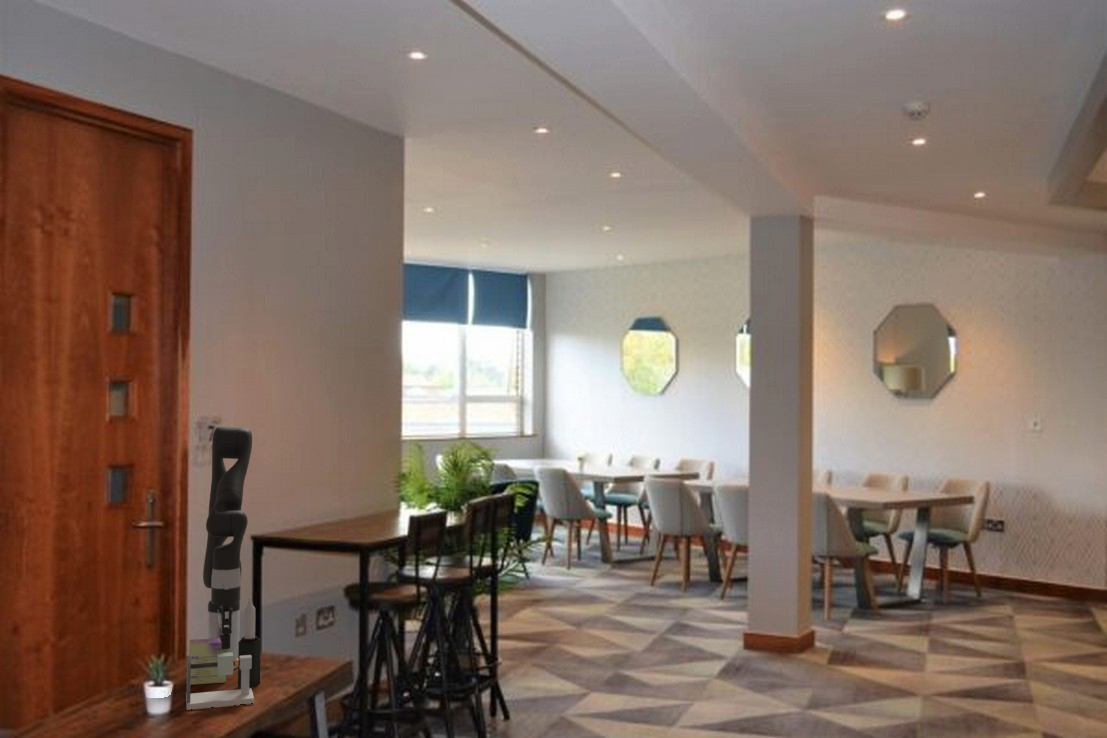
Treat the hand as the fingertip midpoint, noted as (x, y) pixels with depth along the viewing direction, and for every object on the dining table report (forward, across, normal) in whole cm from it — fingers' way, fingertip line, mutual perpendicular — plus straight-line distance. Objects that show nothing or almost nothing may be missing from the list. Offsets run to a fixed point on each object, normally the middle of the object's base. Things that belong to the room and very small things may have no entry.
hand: (225, 644), depth 283 cm
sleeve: (+8, 0, 0) cm, 8 cm away
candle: (+15, -14, +7) cm, 22 cm away
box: (+16, -22, -4) cm, 27 cm away
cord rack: (+15, 0, -1) cm, 15 cm away
